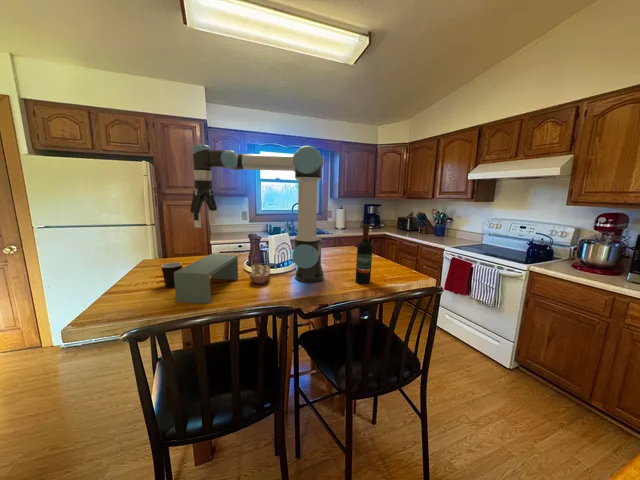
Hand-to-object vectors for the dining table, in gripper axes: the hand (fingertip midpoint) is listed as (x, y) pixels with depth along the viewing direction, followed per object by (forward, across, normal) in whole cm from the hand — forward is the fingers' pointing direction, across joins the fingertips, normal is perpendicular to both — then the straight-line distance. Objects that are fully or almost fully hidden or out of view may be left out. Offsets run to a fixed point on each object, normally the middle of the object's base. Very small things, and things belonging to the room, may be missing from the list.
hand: (205, 225), depth 129 cm
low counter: (+28, +10, +6) cm, 30 cm away
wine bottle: (+28, -11, +77) cm, 83 cm away
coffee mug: (+28, +7, -13) cm, 32 cm away
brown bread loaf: (+28, -8, +24) cm, 38 cm away
